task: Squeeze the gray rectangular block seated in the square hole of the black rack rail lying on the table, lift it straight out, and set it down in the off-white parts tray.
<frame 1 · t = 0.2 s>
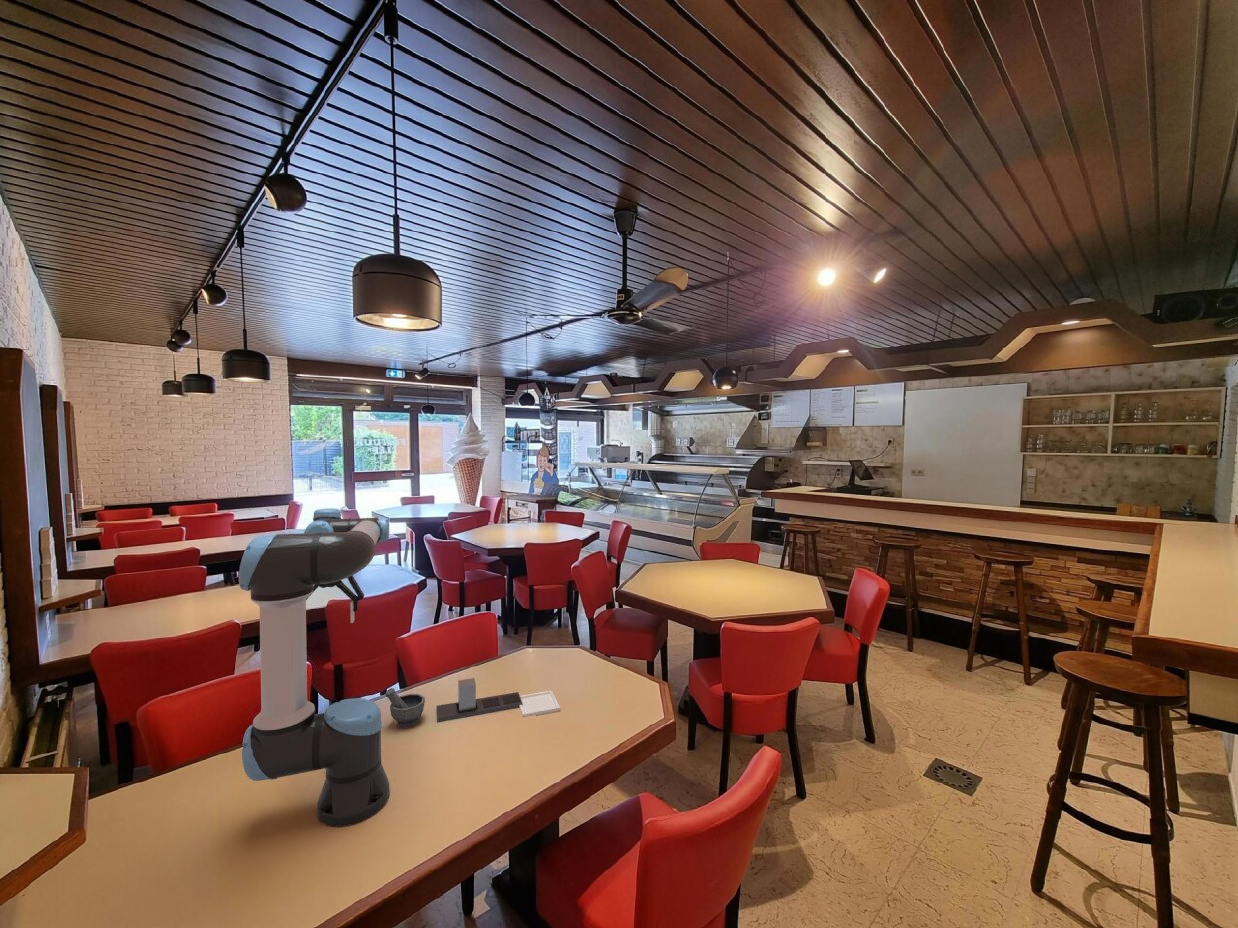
hand: (328, 624, 158), 28 cm above the table, fingers open, 13 cm apart
gray rectangular block: (466, 710, 158), resting on rack rail
mortar and pestle: (405, 724, 151), on the table
parts tray: (537, 705, 163), on the table
rack rail: (479, 709, 160), on the table
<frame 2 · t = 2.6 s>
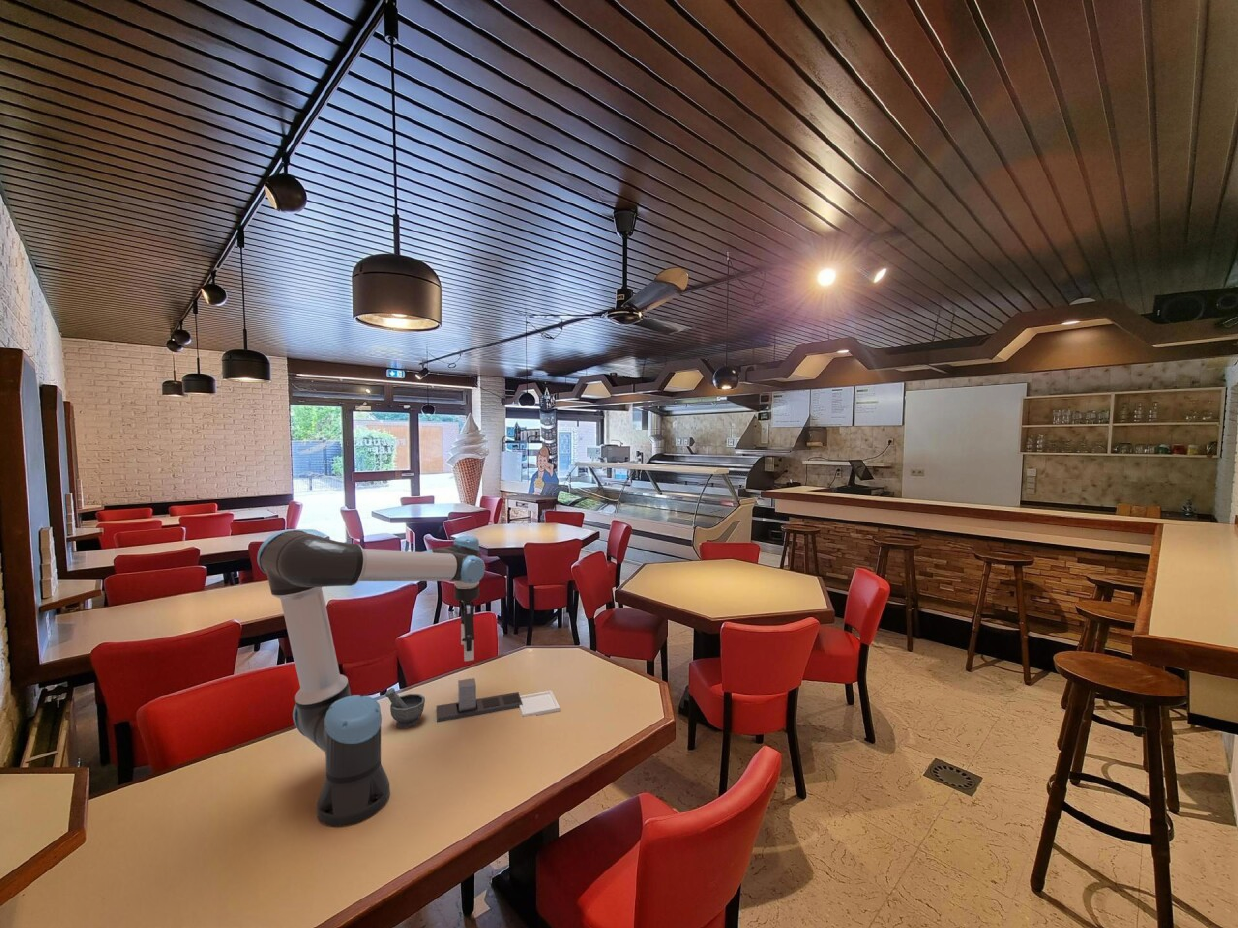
hand: (467, 651, 158), 19 cm above the table, fingers open, 13 cm apart
nothing on the table moved.
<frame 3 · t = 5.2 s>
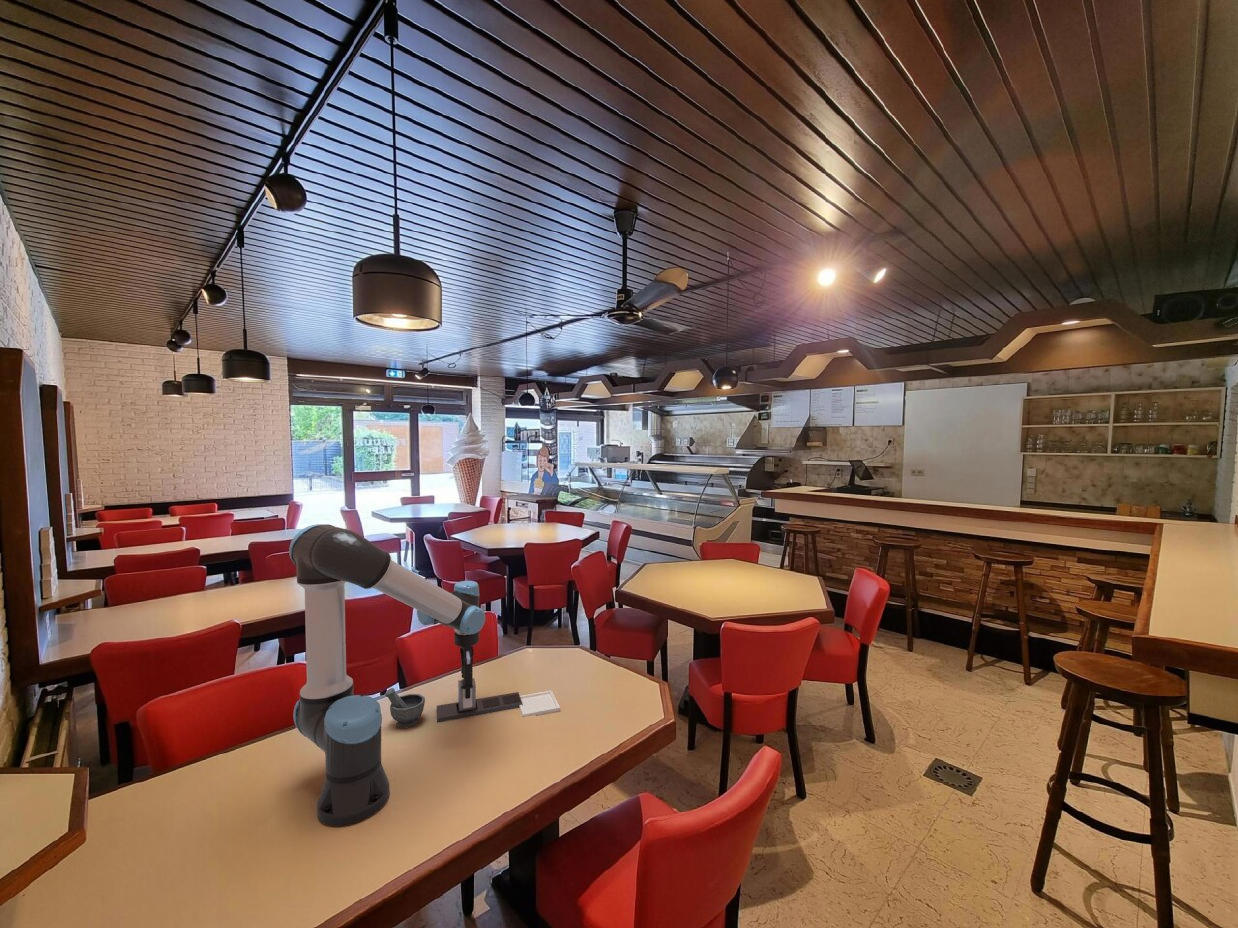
hand: (466, 702, 158), 3 cm above the table, fingers closed on gray rectangular block, 5 cm apart
gray rectangular block: (466, 710, 158), resting on rack rail, touching gripper
everything else where it was.
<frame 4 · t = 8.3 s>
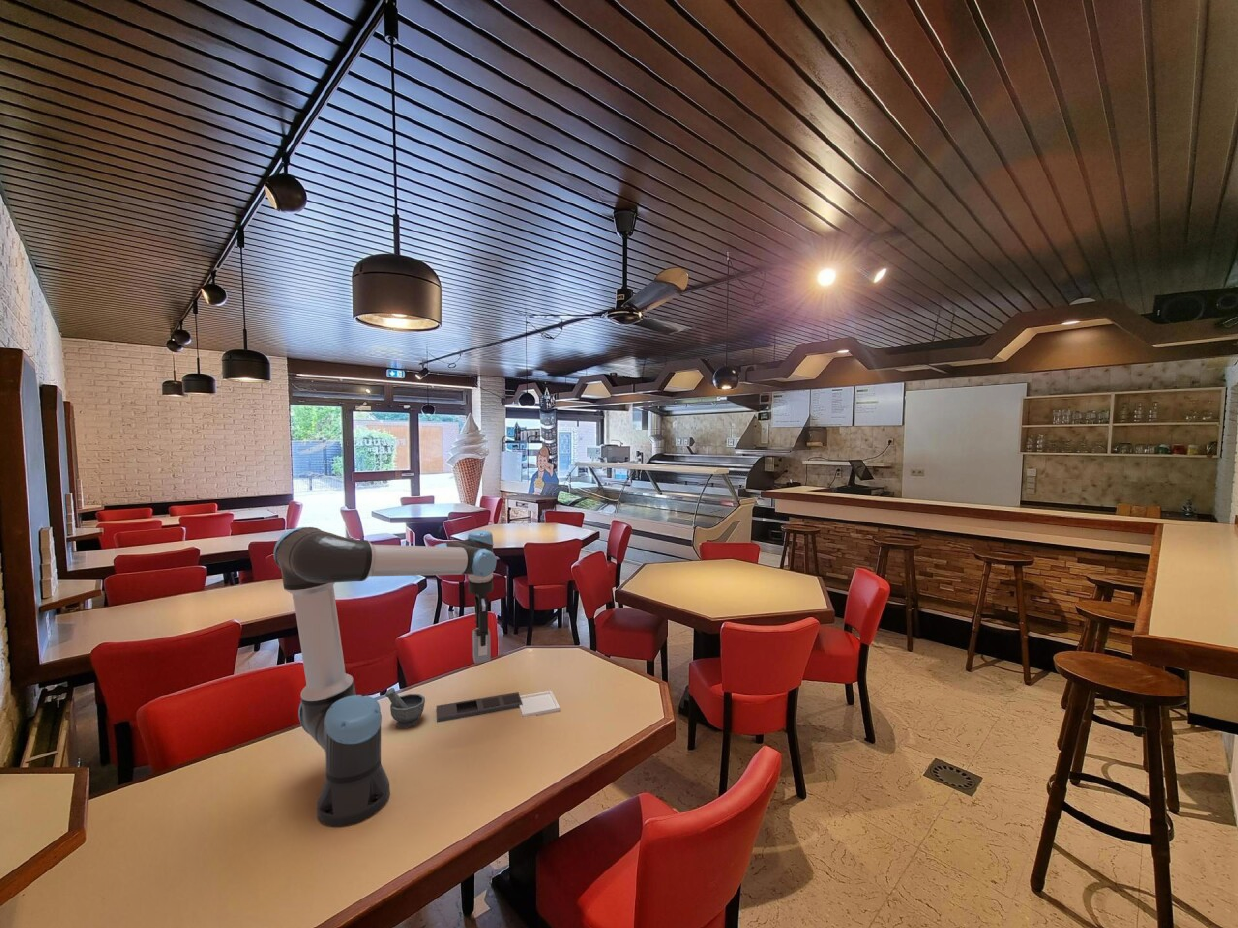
hand: (481, 651, 159), 19 cm above the table, fingers closed on gray rectangular block, 5 cm apart
gray rectangular block: (481, 659, 159), point 17 cm above the table, touching gripper
everything else where it was.
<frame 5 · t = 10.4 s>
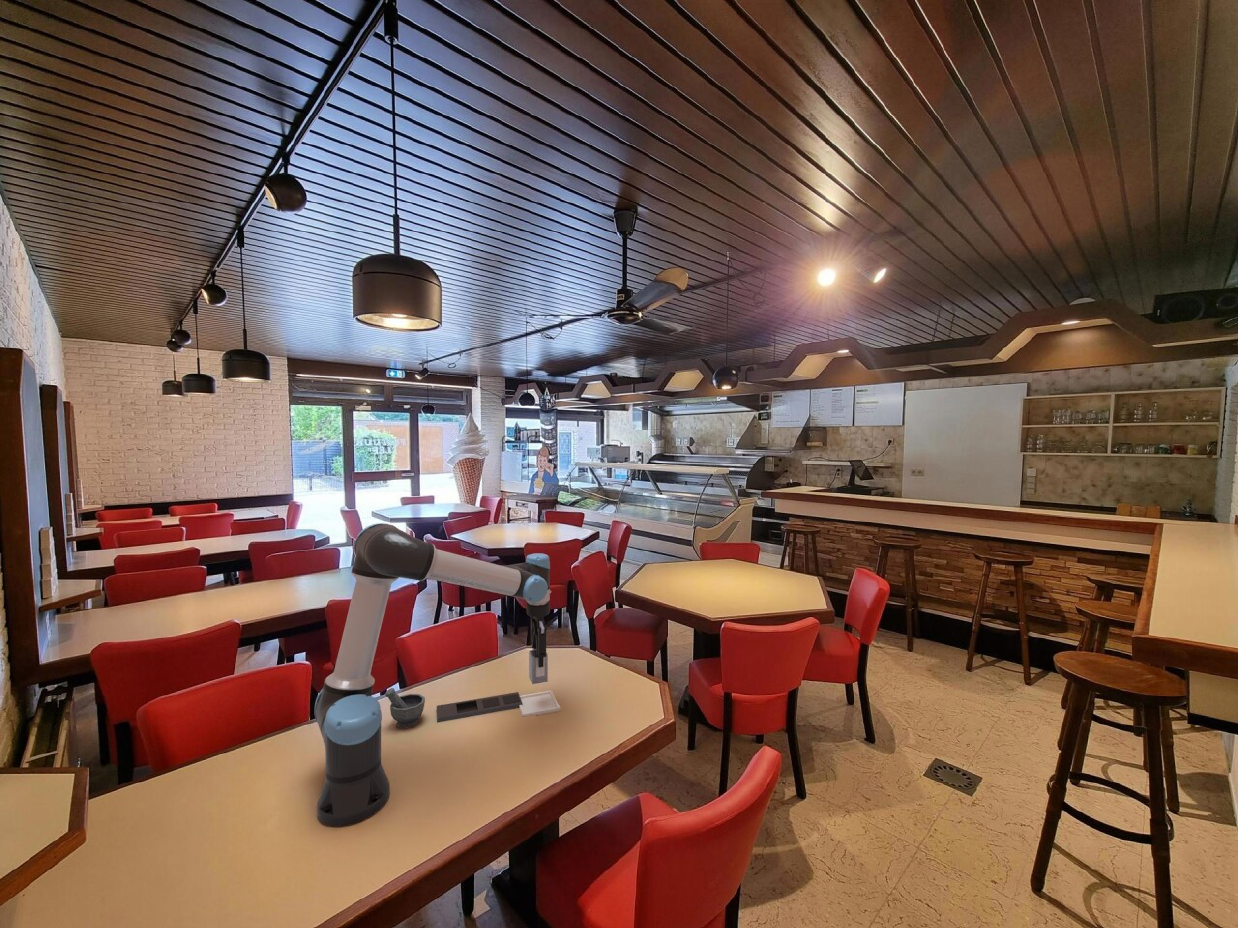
hand: (538, 671, 162), 11 cm above the table, fingers closed on gray rectangular block, 5 cm apart
gray rectangular block: (538, 679, 163), point 9 cm above the table, touching gripper
everything else where it was.
when the fingers open (5 cm above the table, at t = 11.9 s): gray rectangular block drops 2 cm, resting on parts tray.
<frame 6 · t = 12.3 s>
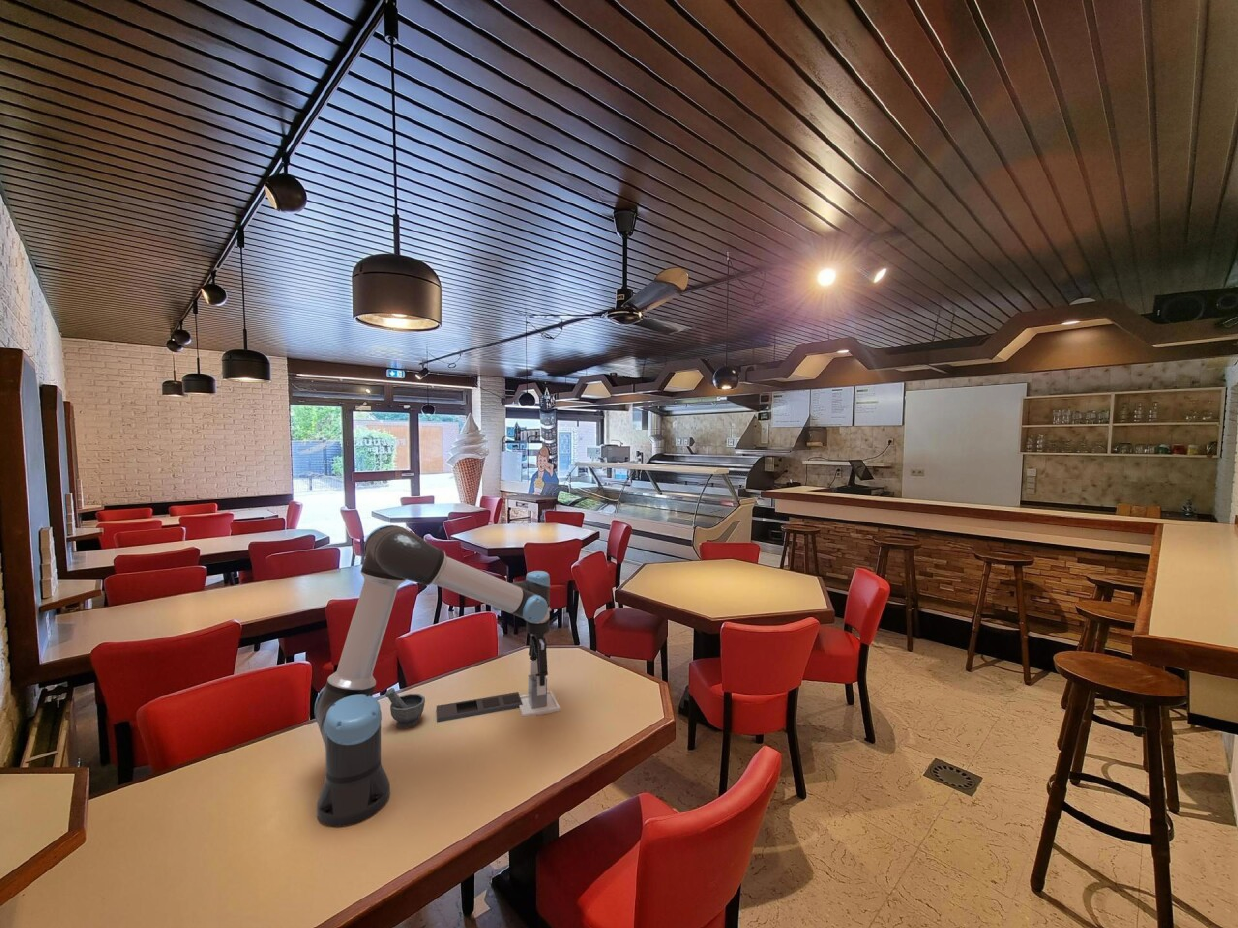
hand: (537, 686, 163), 6 cm above the table, fingers open, 10 cm apart
gray rectangular block: (537, 703, 163), resting on parts tray
everything else where it was.
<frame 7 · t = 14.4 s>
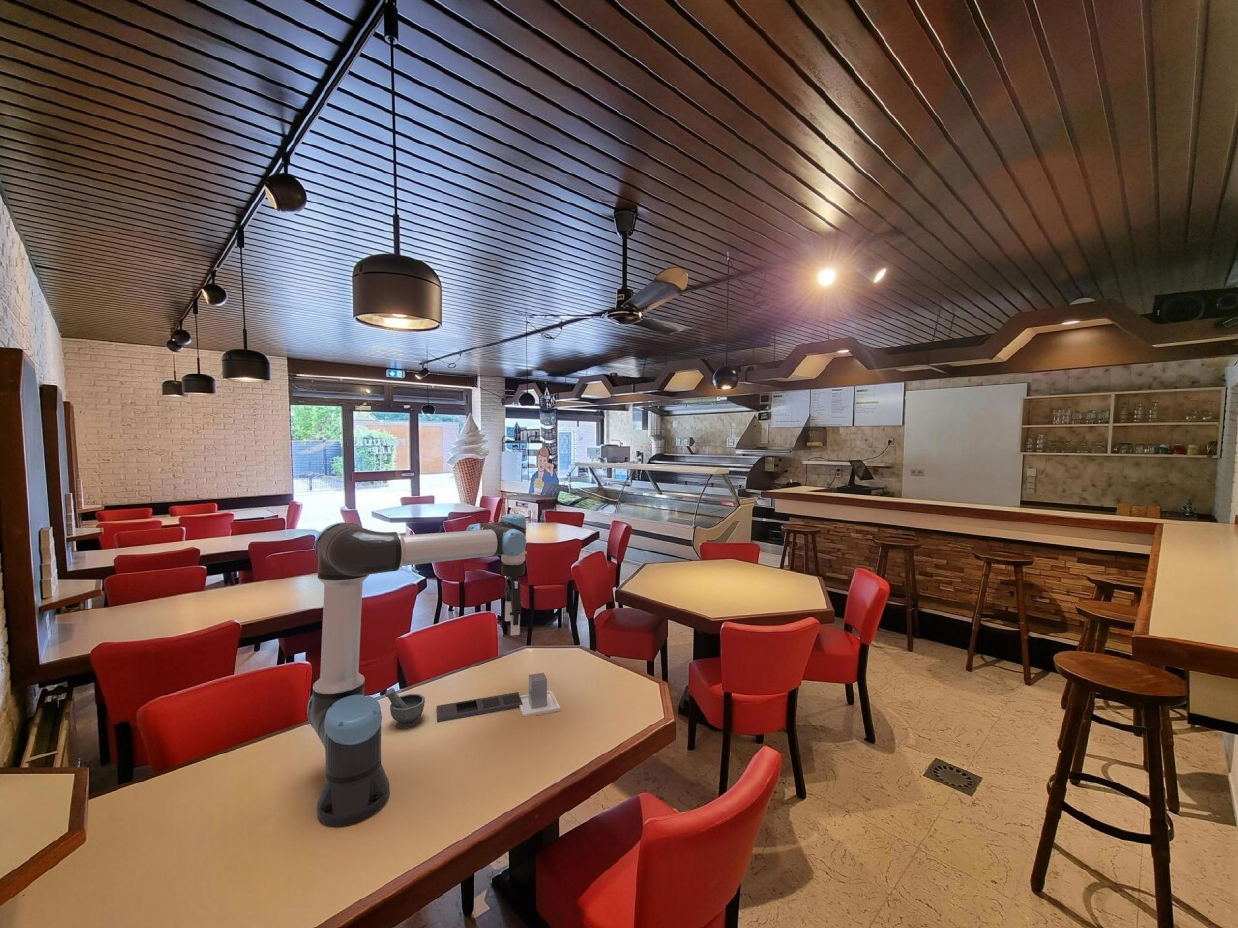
hand: (511, 627, 161), 26 cm above the table, fingers open, 13 cm apart
nothing on the table moved.
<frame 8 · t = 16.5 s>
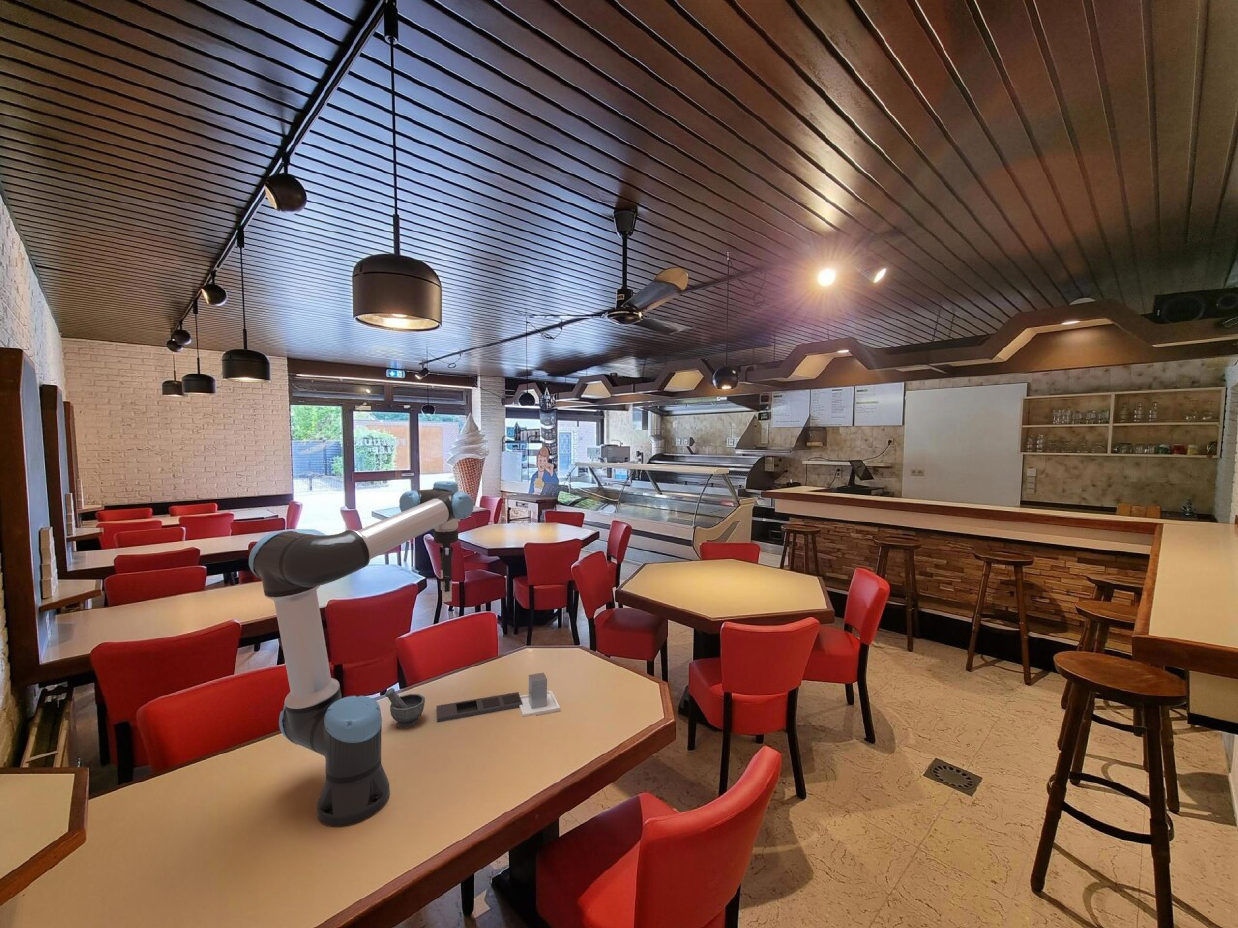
hand: (446, 595, 160), 37 cm above the table, fingers open, 13 cm apart
nothing on the table moved.
at the end: gray rectangular block inside the target area on the parts tray (0.0 cm from its centre), point 0.5 cm above the parts tray's base; gray rectangular block tilted 0°; gray rectangular block touching parts tray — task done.
